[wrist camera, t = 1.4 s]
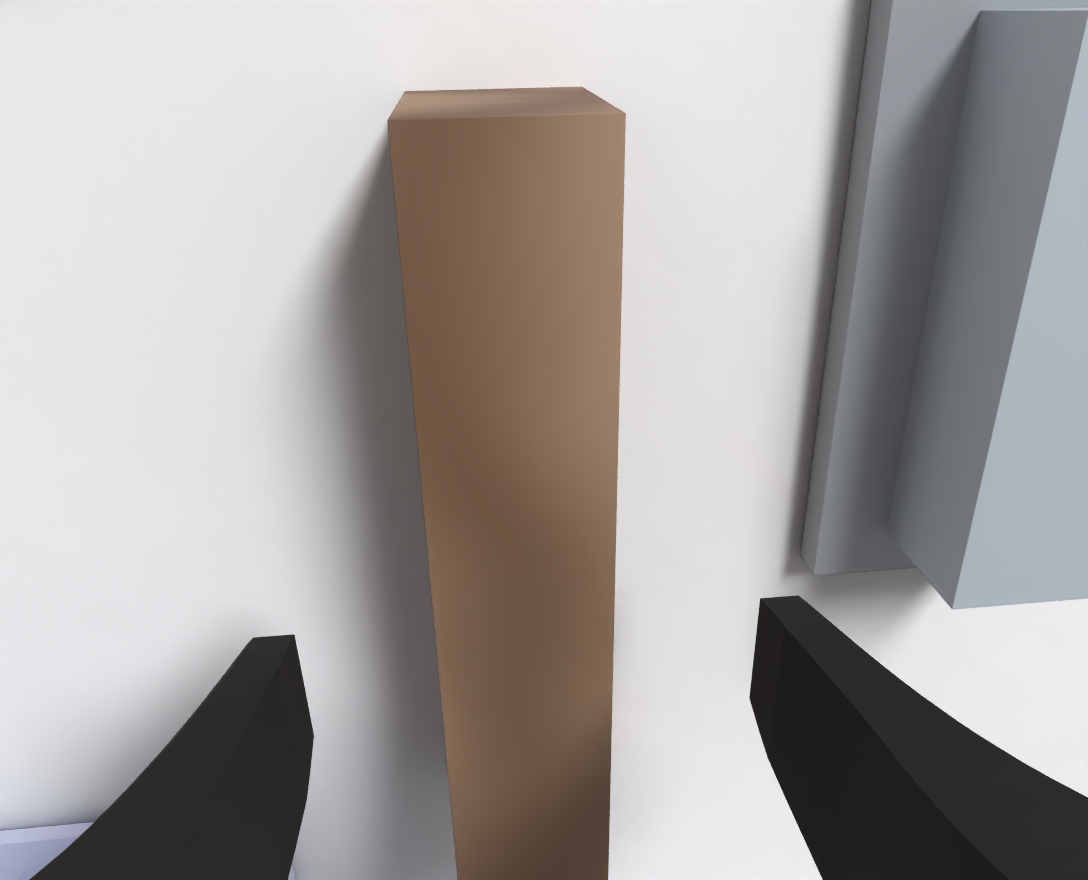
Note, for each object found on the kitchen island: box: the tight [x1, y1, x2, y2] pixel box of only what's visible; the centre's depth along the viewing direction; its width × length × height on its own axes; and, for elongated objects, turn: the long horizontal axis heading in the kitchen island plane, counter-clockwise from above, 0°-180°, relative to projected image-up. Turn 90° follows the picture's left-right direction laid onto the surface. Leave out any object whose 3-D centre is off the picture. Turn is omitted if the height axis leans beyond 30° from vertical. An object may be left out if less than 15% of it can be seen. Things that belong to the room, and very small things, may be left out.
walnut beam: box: [387, 87, 626, 880], centre depth 16 cm, size 3×16×4 cm, turn 1°
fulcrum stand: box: [801, 0, 1088, 609], centre depth 16 cm, size 12×6×4 cm, turn 1°
